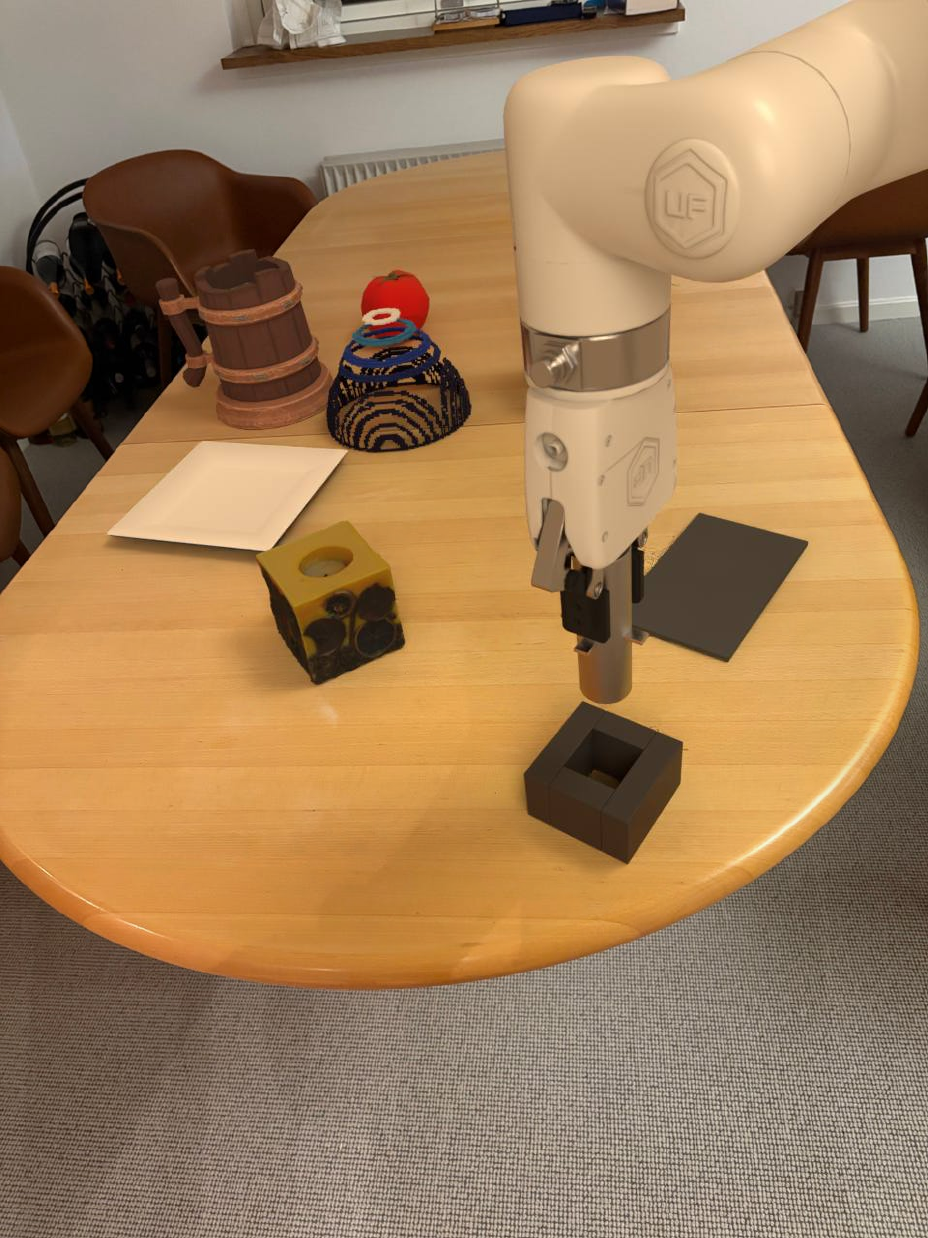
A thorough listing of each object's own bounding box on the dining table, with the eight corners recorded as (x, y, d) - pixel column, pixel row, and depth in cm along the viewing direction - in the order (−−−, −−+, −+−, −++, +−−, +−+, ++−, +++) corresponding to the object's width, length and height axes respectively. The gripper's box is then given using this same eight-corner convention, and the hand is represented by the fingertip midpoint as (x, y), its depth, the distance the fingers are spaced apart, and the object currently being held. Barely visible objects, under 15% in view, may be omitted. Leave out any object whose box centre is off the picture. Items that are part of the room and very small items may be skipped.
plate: (110, 546, 106) (104, 532, 105) (205, 452, 122) (201, 439, 121) (273, 564, 100) (268, 549, 98) (351, 462, 115) (348, 448, 114)
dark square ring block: (680, 783, 70) (683, 741, 67) (627, 865, 65) (628, 824, 62) (584, 741, 74) (582, 700, 71) (527, 814, 69) (522, 773, 66)
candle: (277, 633, 90) (250, 554, 84) (365, 594, 93) (346, 516, 87) (314, 690, 83) (288, 608, 77) (409, 646, 86) (391, 565, 80)
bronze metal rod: (664, 674, 61) (668, 532, 54) (623, 729, 58) (621, 586, 50) (589, 646, 64) (583, 509, 57) (546, 698, 61) (533, 558, 53)
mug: (214, 377, 142) (173, 249, 129) (350, 368, 138) (321, 236, 125) (171, 433, 128) (120, 297, 115) (321, 426, 124) (286, 284, 111)
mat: (807, 545, 91) (808, 540, 90) (728, 662, 79) (728, 657, 79) (698, 516, 97) (699, 512, 97) (609, 621, 85) (609, 616, 85)
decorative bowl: (474, 378, 130) (463, 280, 121) (466, 445, 115) (452, 339, 106) (343, 388, 133) (322, 293, 123) (318, 456, 117) (291, 353, 108)
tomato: (355, 351, 143) (342, 288, 136) (382, 320, 152) (371, 259, 145) (419, 352, 139) (409, 288, 133) (443, 320, 148) (435, 258, 142)
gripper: (575, 429, 39) (590, 717, 50) (731, 292, 48) (712, 561, 60) (441, 399, 43) (483, 673, 54) (609, 278, 52) (614, 533, 64)
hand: (603, 612), depth 57 cm, fingers closed on bronze metal rod, 3 cm apart
